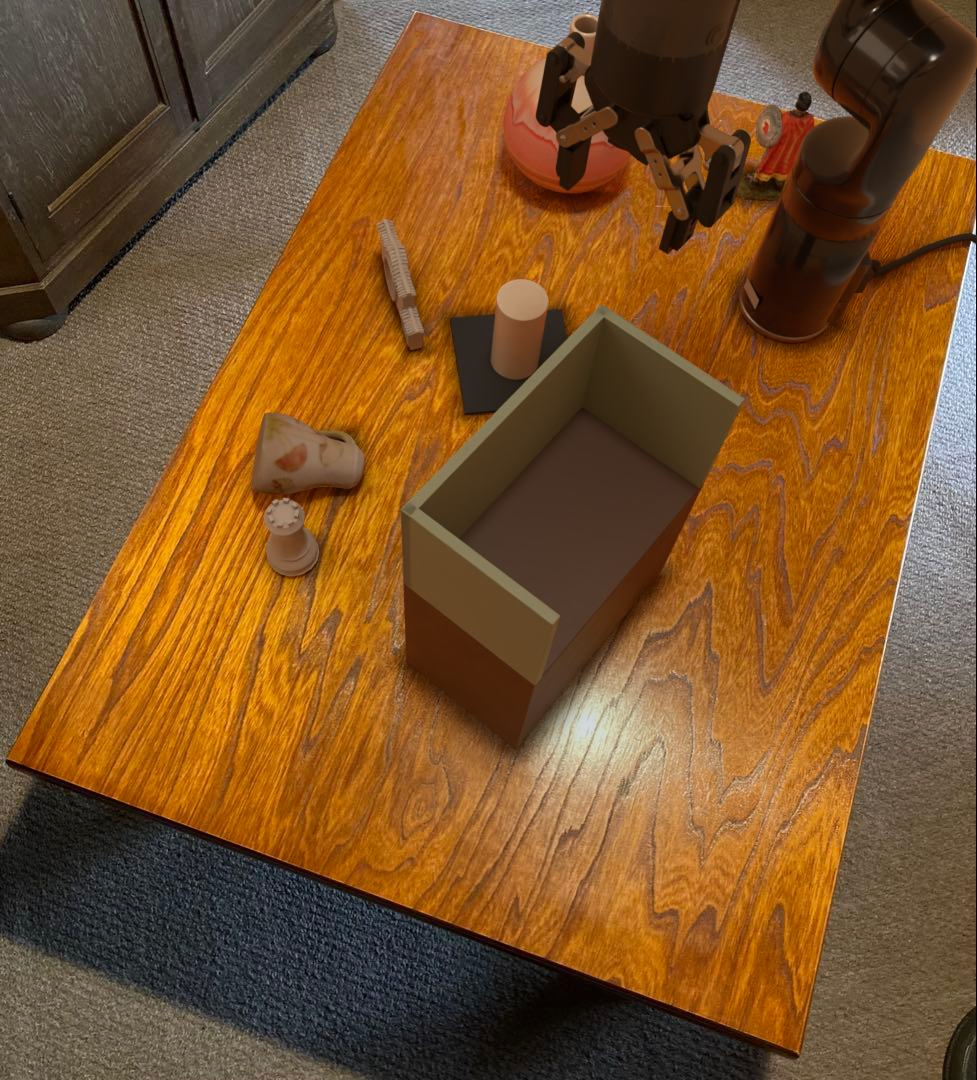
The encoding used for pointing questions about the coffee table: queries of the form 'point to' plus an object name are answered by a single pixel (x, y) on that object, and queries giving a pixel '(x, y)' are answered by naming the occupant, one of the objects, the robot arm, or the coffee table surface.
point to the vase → (538, 144)
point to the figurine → (776, 149)
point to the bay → (556, 519)
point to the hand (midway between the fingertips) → (620, 213)
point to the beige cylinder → (518, 328)
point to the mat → (474, 360)
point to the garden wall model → (400, 283)
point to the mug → (303, 457)
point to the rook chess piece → (289, 539)
